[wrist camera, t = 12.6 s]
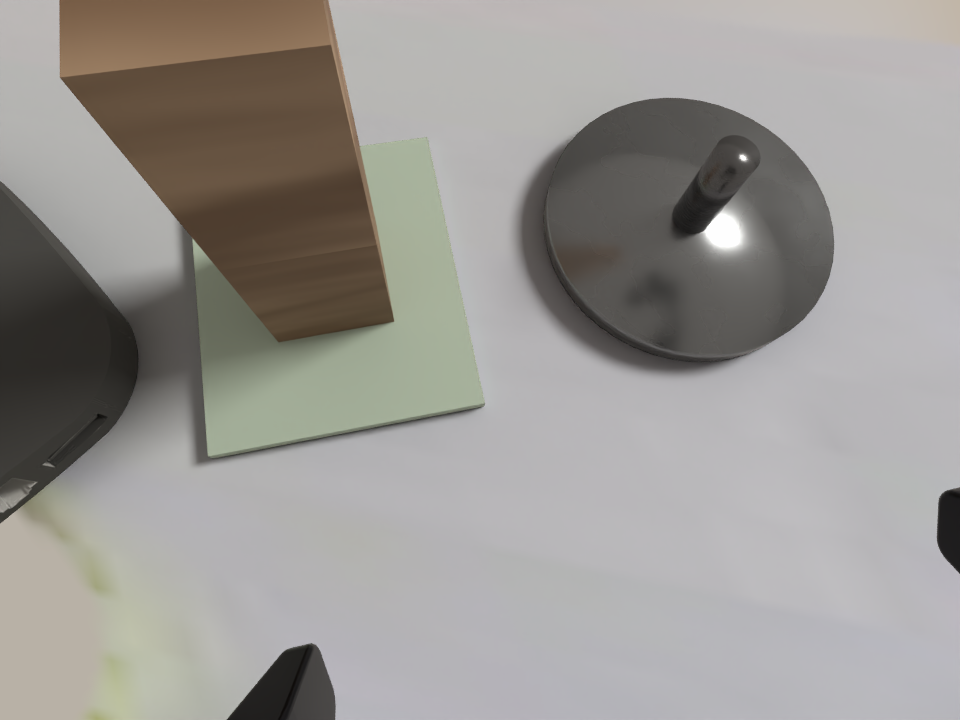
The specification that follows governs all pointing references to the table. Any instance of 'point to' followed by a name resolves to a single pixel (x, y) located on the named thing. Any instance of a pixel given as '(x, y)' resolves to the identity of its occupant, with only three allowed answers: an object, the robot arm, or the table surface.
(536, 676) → the table surface
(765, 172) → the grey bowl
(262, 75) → the walnut block
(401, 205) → the rubber mat
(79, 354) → the media streaming box
